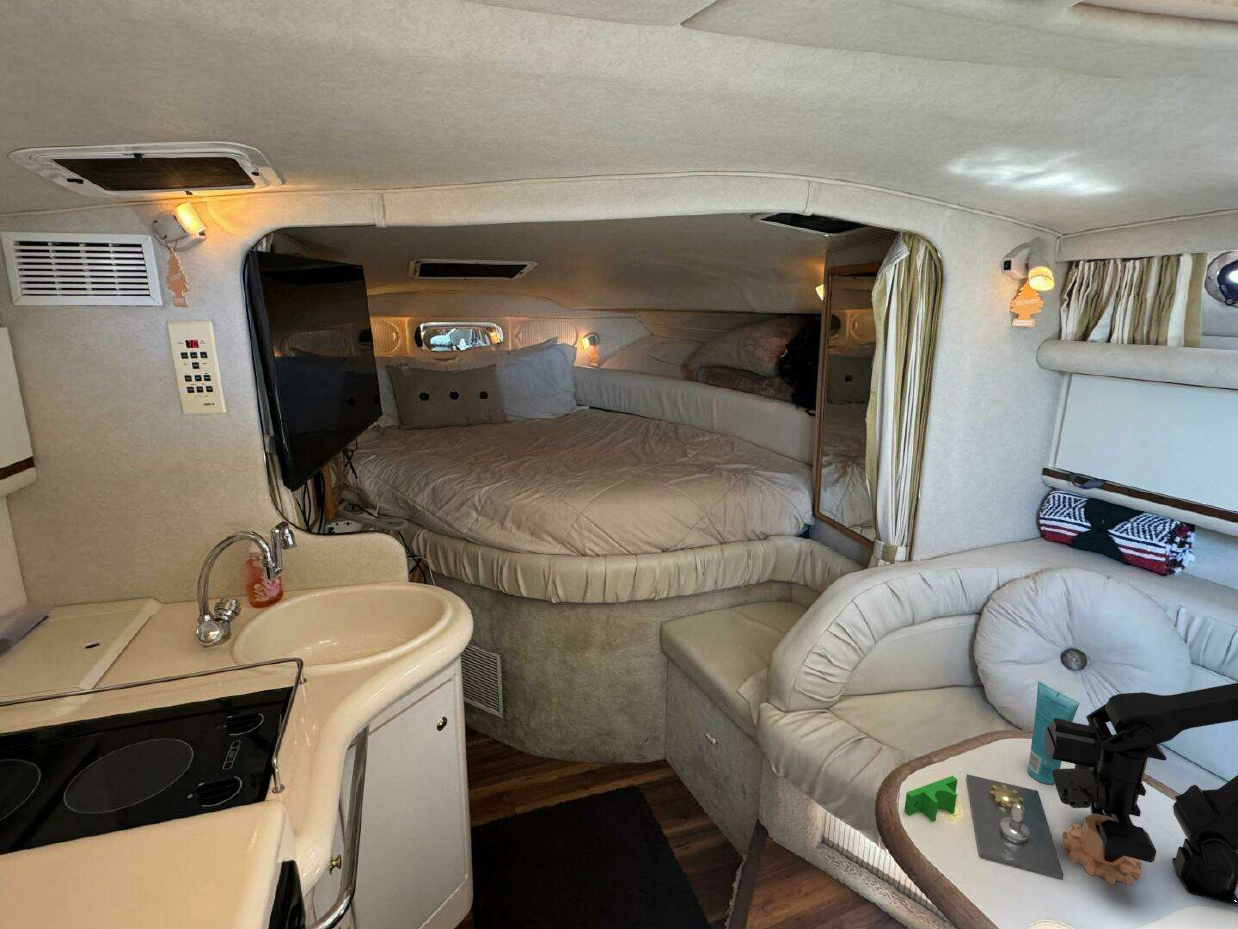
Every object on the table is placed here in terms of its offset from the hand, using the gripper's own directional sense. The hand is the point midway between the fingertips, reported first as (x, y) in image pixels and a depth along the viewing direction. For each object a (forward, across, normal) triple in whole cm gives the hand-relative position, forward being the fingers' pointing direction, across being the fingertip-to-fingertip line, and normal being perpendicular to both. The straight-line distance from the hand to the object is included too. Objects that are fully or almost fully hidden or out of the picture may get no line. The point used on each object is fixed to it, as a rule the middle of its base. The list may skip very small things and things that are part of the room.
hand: (1102, 846), depth 106 cm
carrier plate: (+2, -2, -13) cm, 13 cm away
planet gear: (+2, 0, 0) cm, 2 cm away
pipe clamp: (+2, -1, -25) cm, 26 cm away
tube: (+2, -18, -5) cm, 19 cm away
